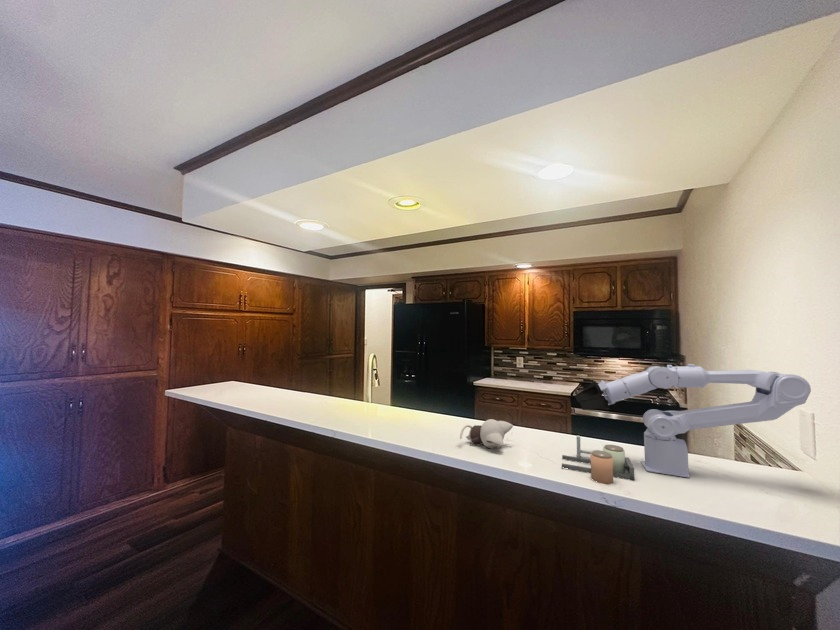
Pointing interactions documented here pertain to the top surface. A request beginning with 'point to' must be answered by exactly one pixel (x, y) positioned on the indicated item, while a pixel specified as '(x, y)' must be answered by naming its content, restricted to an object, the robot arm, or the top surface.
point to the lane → (628, 468)
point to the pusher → (580, 448)
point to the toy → (488, 433)
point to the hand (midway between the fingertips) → (578, 402)
